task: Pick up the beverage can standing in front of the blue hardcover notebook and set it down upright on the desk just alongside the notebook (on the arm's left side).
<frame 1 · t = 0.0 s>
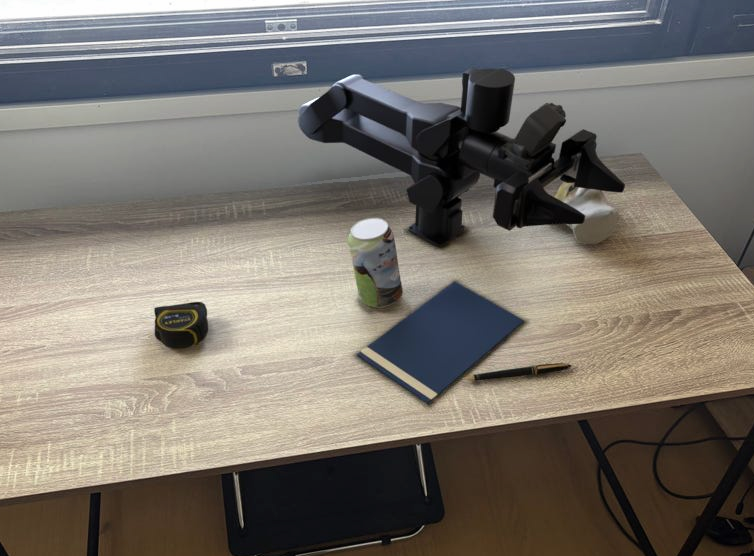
hand: (604, 203, 89), 17 cm above the table, tool horizontal, fingers open, 9 cm apart
beverage can: (376, 299, 102), on the table
tape measure: (182, 334, 97), on the table
blue hardcover notebook: (442, 338, 96), on the table
ceramic sculpture: (575, 226, 114), on the table
fountain pen: (516, 376, 91), on the table
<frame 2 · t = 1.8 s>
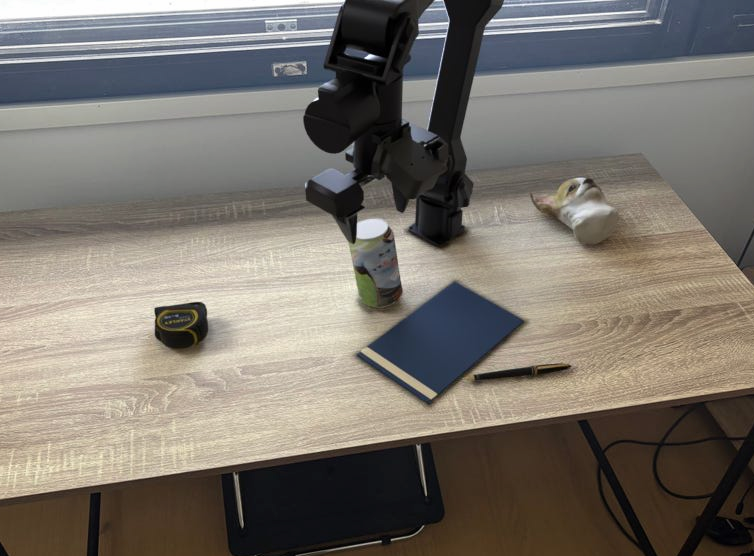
hand: (376, 226, 93), 12 cm above the table, tool pointing down, fingers open, 9 cm apart
nothing on the table moved.
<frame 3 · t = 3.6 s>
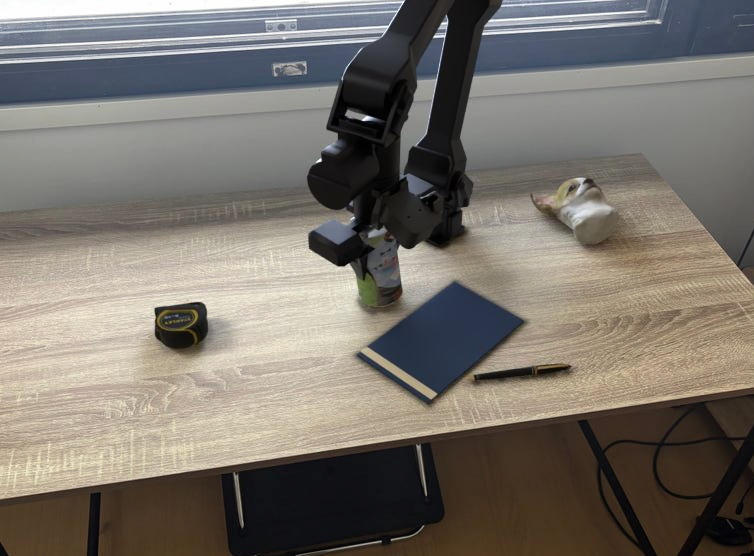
hand: (375, 270, 98), 5 cm above the table, tool pointing down, fingers closed on beverage can, 5 cm apart
beverage can: (375, 298, 102), on the table, touching gripper
everything else where it was.
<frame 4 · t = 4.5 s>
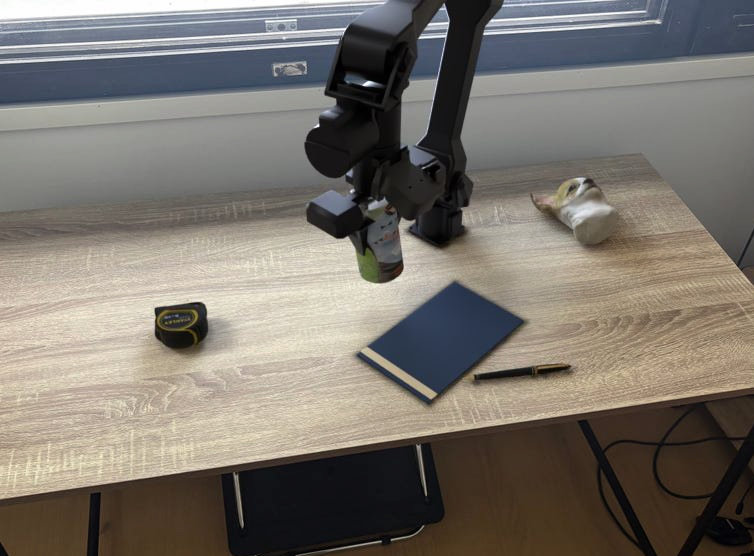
hand: (375, 245, 95), 9 cm above the table, tool pointing down, fingers closed on beverage can, 5 cm apart
beverage can: (376, 275, 99), point 4 cm above the table, touching gripper
everything else where it was.
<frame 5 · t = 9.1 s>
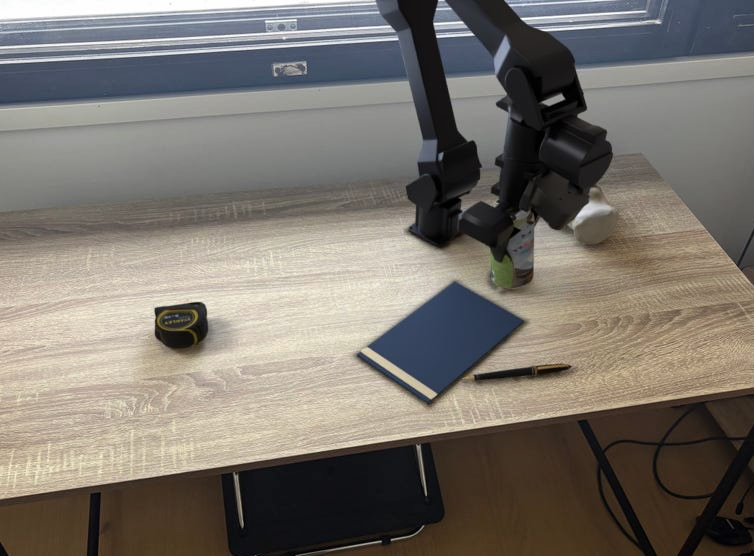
hand: (509, 252, 101), 5 cm above the table, tool pointing down, fingers closed on beverage can, 5 cm apart
beverage can: (505, 280, 105), on the table, touching gripper
everything else where it was.
when the fingers open (5 cm above the table, at t = 9.3 s): beverage can stays where it is, on the table.
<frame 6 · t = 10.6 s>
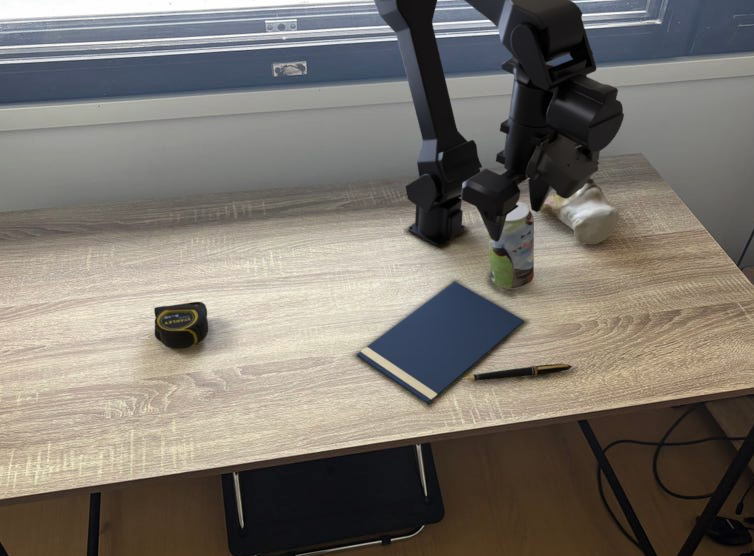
hand: (515, 225, 97), 10 cm above the table, tool pointing down, fingers open, 9 cm apart
beverage can: (506, 281, 105), on the table
everything else where it was.
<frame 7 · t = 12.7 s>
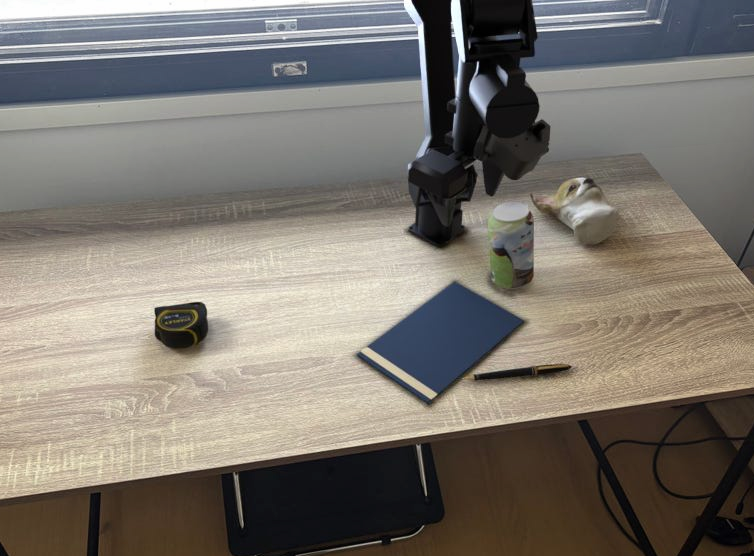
hand: (468, 209, 94), 13 cm above the table, tool pointing down, fingers open, 9 cm apart
nothing on the table moved.
at the end: beverage can inside the target area on the table beside the blue hardcover notebook (1.1 cm from its centre), on the table; beverage can tilted 0°; the gripper is holding nothing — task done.
